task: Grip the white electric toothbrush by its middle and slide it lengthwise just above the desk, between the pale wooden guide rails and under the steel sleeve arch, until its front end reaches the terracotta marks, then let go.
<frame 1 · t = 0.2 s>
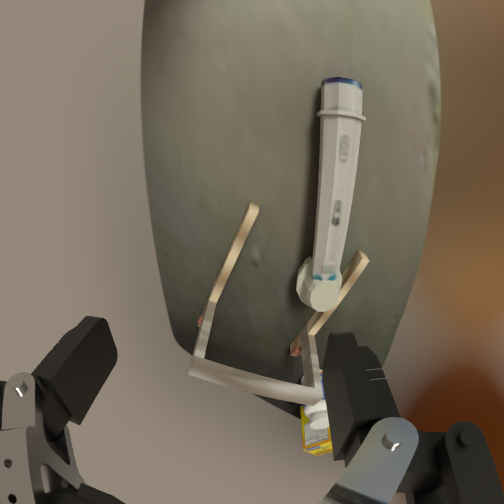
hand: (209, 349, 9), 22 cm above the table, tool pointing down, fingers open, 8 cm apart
white electric toothbrush: (326, 196, 29), on the table
sleeve guide: (277, 287, 35), on the table
pill bottle: (316, 376, 44), on the table
supplement box: (319, 402, 49), on the table
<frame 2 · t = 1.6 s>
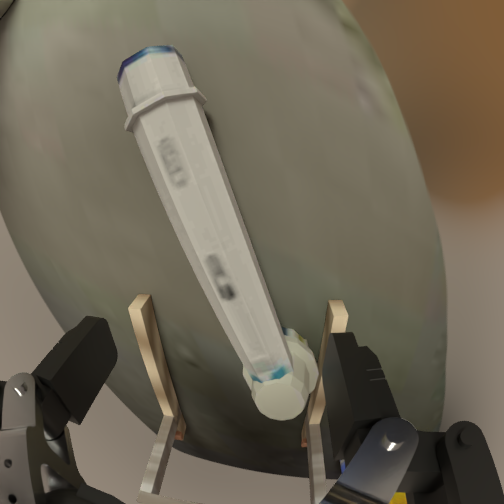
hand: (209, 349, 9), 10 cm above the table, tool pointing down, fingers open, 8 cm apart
white electric toothbrush: (233, 241, 18), on the table
sleeve guide: (240, 383, 23), on the table
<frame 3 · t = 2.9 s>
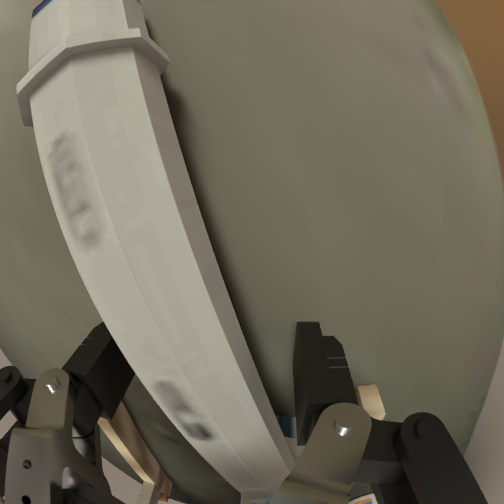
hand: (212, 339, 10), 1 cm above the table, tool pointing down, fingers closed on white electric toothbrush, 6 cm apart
white electric toothbrush: (216, 311, 11), on the table, touching gripper
sleeve guide: (232, 460, 15), on the table
pill bottle: (367, 497, 20), on the table
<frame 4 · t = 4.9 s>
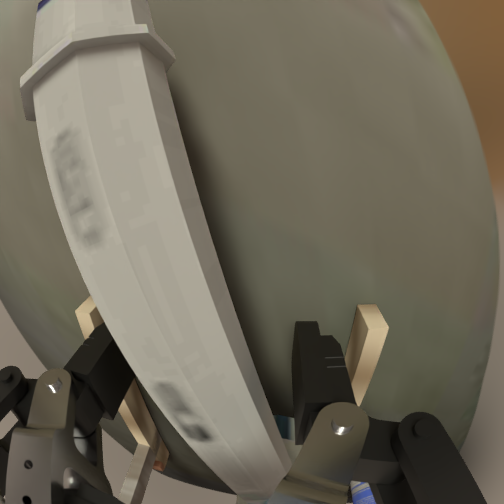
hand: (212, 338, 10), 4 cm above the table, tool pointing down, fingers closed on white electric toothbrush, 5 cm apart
white electric toothbrush: (216, 311, 11), point 2 cm above the table, touching gripper
sleeve guide: (232, 412, 16), on the table
pill bottle: (372, 472, 21), on the table
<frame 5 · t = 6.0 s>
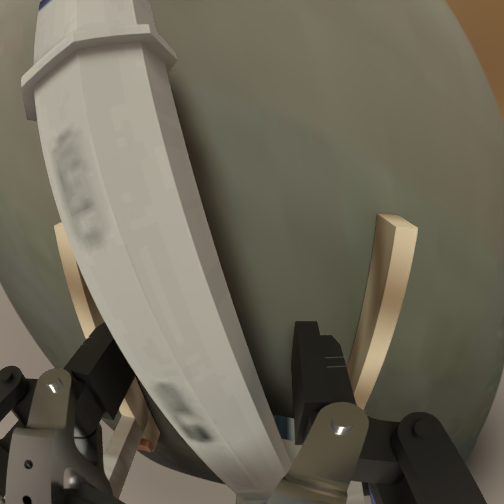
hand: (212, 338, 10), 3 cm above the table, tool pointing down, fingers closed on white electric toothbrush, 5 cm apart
white electric toothbrush: (217, 312, 11), point 2 cm above the table, touching gripper
sleeve guide: (232, 370, 15), on the table
when the fingers open (1 cm above the table, at t = 7.0 s): white electric toothbrush stays where it is, on the table.
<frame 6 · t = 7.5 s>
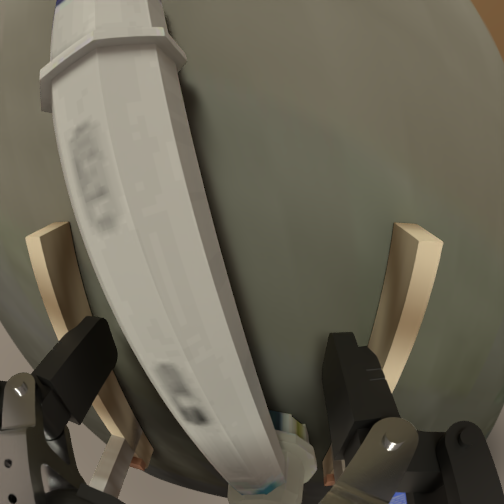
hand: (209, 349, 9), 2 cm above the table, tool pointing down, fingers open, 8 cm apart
white electric toothbrush: (215, 302, 11), on the table
sleeve guide: (226, 393, 13), on the table
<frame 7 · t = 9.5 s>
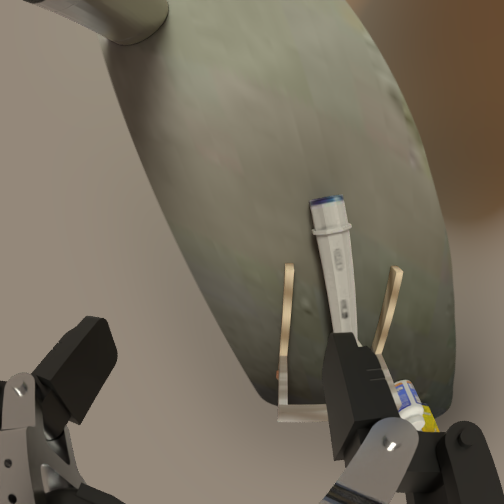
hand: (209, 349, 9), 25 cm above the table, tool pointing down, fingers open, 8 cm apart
white electric toothbrush: (336, 289, 35), on the table
sleeve guide: (335, 325, 36), on the table
pill bottle: (398, 388, 40), on the table
supplement box: (410, 410, 43), on the table
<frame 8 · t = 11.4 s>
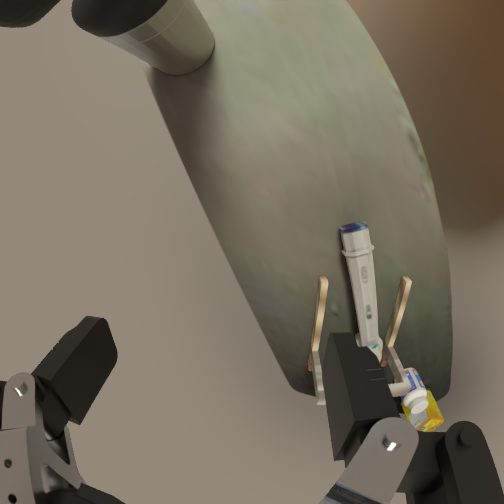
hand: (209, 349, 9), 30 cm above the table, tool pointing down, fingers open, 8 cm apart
white electric toothbrush: (360, 294, 42), on the table
sleeve guide: (356, 324, 44), on the table
pill bottle: (404, 374, 48), on the table
supplement box: (414, 394, 51), on the table
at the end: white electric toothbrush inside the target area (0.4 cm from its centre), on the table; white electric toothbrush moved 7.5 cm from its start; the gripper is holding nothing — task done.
